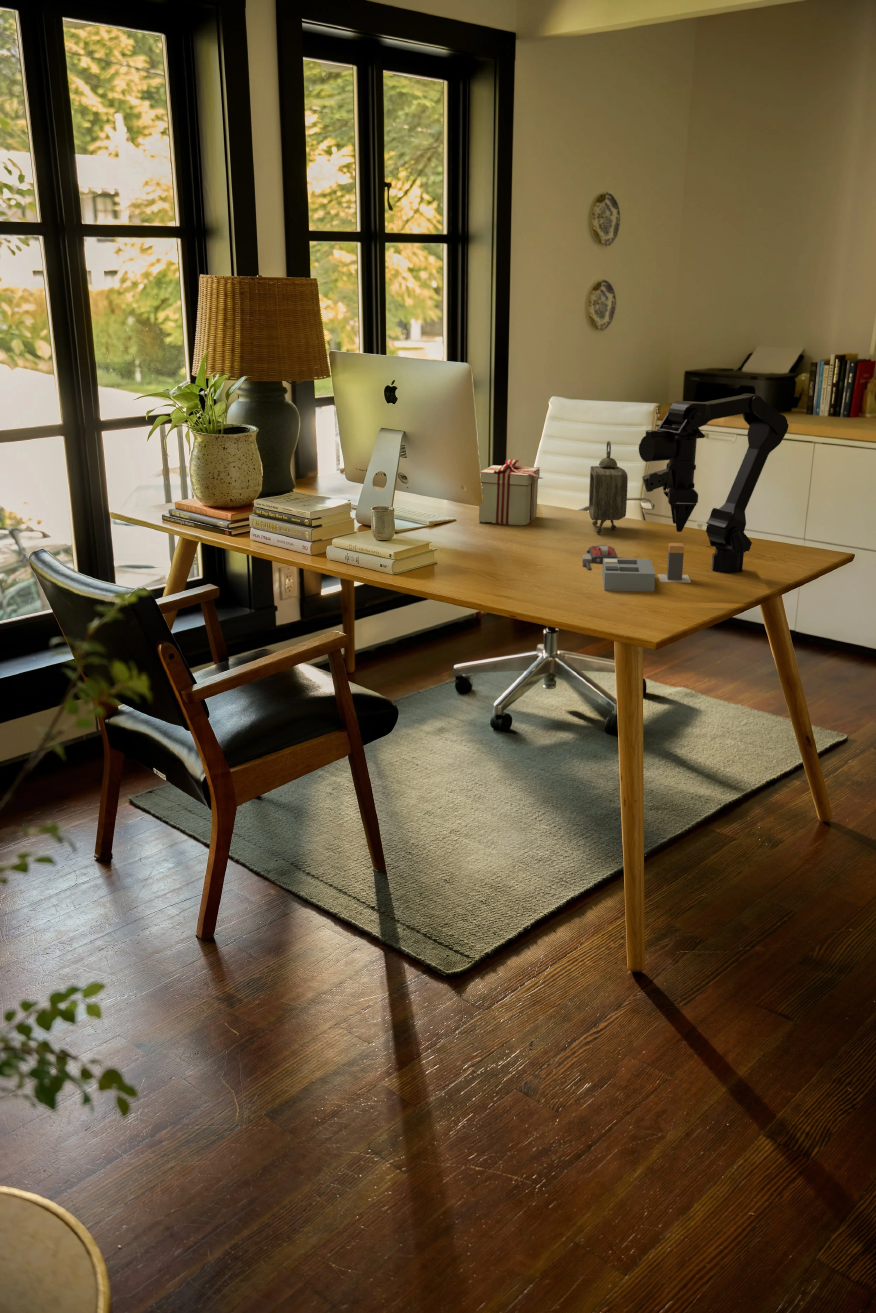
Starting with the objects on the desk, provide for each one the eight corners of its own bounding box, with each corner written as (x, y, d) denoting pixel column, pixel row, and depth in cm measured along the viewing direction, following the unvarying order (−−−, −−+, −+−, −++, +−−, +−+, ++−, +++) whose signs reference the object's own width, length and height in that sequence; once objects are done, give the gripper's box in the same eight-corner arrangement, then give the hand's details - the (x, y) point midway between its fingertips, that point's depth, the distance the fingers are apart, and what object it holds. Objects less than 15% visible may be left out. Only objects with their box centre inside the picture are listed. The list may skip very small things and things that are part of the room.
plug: (680, 576, 253) (682, 543, 251) (681, 580, 250) (684, 546, 248) (666, 576, 254) (668, 542, 251) (667, 579, 251) (669, 545, 248)
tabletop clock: (588, 525, 314) (591, 437, 306) (619, 525, 314) (623, 437, 306) (592, 535, 301) (596, 444, 293) (625, 535, 300) (630, 444, 292)
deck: (687, 578, 255) (687, 574, 255) (690, 586, 249) (691, 582, 248) (657, 578, 256) (657, 574, 256) (659, 585, 249) (660, 581, 249)
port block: (649, 579, 255) (650, 557, 253) (653, 595, 242) (655, 572, 240) (602, 578, 256) (603, 556, 254) (604, 594, 243) (605, 571, 241)
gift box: (539, 526, 313) (541, 467, 307) (477, 524, 317) (477, 465, 311) (548, 515, 328) (549, 458, 323) (488, 513, 332) (488, 456, 327)
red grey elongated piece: (579, 556, 279) (584, 575, 260) (579, 539, 278) (585, 557, 259) (613, 556, 279) (621, 576, 260) (614, 539, 277) (622, 558, 258)
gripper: (643, 452, 253) (639, 518, 258) (648, 464, 235) (644, 535, 240) (691, 453, 252) (686, 519, 257) (701, 465, 234) (695, 536, 239)
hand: (677, 527), depth 248 cm, fingers open, 9 cm apart
